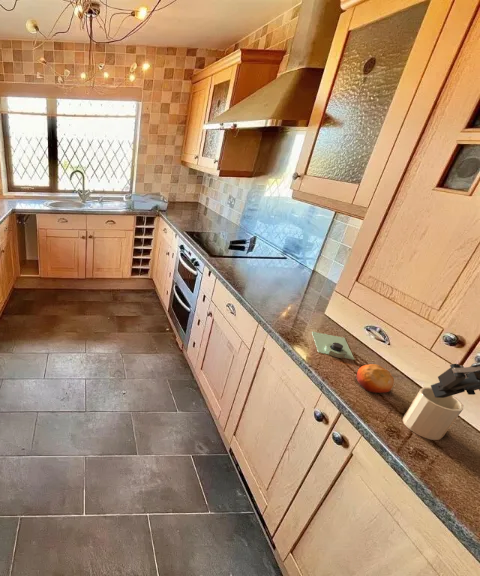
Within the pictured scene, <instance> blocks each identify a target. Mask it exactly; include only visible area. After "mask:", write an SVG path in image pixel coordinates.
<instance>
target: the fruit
mask: <svg viewBox="0 0 480 576" xmlns="http://www.w3.org/2000/svg"><path fill="white" fill-rule="evenodd" d="M354 380H356V381H357V382H358V384H359V385H360V387H362V388H363V389H364V390H365V391H366V392H369V393H377V394H378V393H380V394H382V393H389V392H390V391H392V388H393V387H394V383H395V378H394V377H393V376H392V374H391V372H390V371H389V370H388V369H386V368H384V367H383V366H381V365H379V364H375V363H374V364H372V363H371V364H364V365H362V366H360V367H359V368H358V370H357V373H356V378H354Z"/></svg>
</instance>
